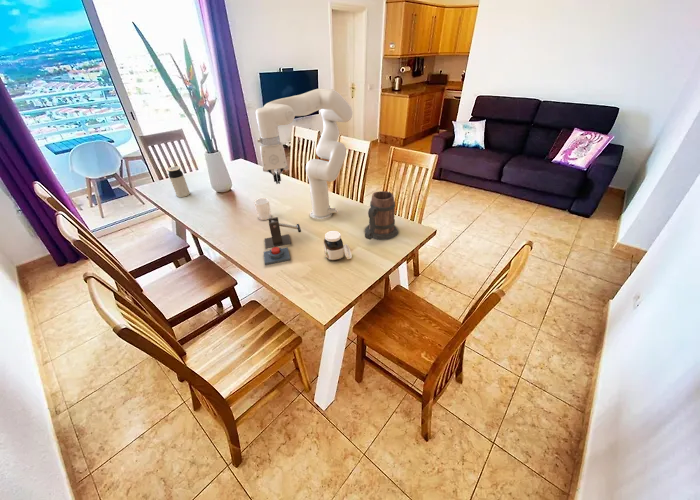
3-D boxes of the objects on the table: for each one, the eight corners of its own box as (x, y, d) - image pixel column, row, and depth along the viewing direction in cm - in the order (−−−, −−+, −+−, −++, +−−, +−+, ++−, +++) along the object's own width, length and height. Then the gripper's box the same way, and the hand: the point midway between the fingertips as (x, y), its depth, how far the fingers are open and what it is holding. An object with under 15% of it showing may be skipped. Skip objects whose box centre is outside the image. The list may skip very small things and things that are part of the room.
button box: (288, 251, 139) (287, 244, 137) (290, 262, 132) (289, 255, 130) (264, 255, 137) (262, 248, 135) (265, 267, 130) (263, 259, 127)
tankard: (375, 219, 161) (375, 185, 150) (403, 227, 154) (406, 192, 142) (351, 240, 145) (350, 203, 134) (382, 250, 138) (384, 212, 126)
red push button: (279, 249, 134) (279, 246, 133) (280, 253, 131) (279, 250, 130) (271, 250, 133) (270, 247, 132) (272, 255, 131) (271, 252, 130)
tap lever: (298, 227, 147) (299, 223, 146) (300, 233, 142) (301, 229, 141) (269, 222, 141) (271, 217, 140) (270, 228, 136) (272, 223, 135)
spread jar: (322, 252, 137) (320, 231, 131) (345, 246, 141) (344, 225, 134) (331, 267, 128) (330, 245, 122) (355, 260, 132) (355, 238, 125)
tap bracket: (289, 236, 150) (285, 213, 143) (291, 245, 143) (287, 222, 135) (264, 240, 147) (259, 217, 140) (266, 250, 140) (260, 227, 133)
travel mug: (192, 192, 198) (183, 166, 188) (185, 197, 192) (175, 170, 181) (181, 192, 199) (171, 166, 189) (174, 197, 192) (163, 170, 182)
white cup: (268, 221, 163) (265, 204, 157) (255, 220, 165) (251, 203, 159) (274, 214, 170) (271, 198, 164) (261, 213, 171) (258, 197, 165)
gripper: (252, 145, 117) (261, 188, 128) (289, 141, 121) (295, 183, 131) (251, 140, 123) (260, 182, 134) (287, 136, 126) (293, 177, 137)
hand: (277, 182), depth 132 cm, fingers closed
